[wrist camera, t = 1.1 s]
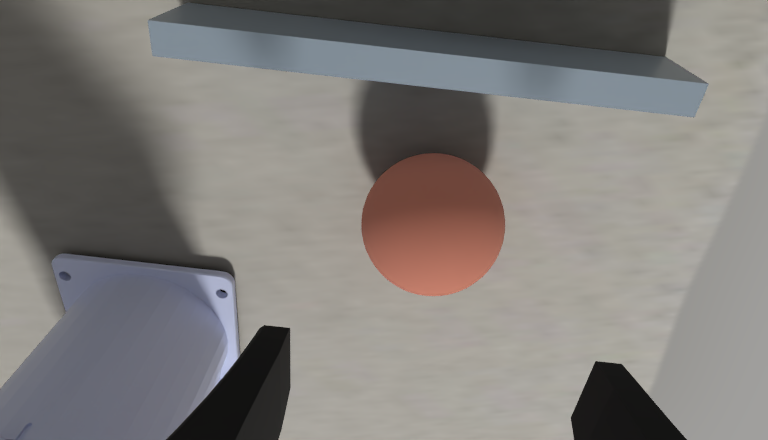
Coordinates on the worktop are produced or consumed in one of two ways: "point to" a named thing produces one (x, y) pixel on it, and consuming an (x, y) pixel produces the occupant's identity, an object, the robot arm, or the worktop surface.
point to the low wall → (426, 58)
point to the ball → (433, 224)
